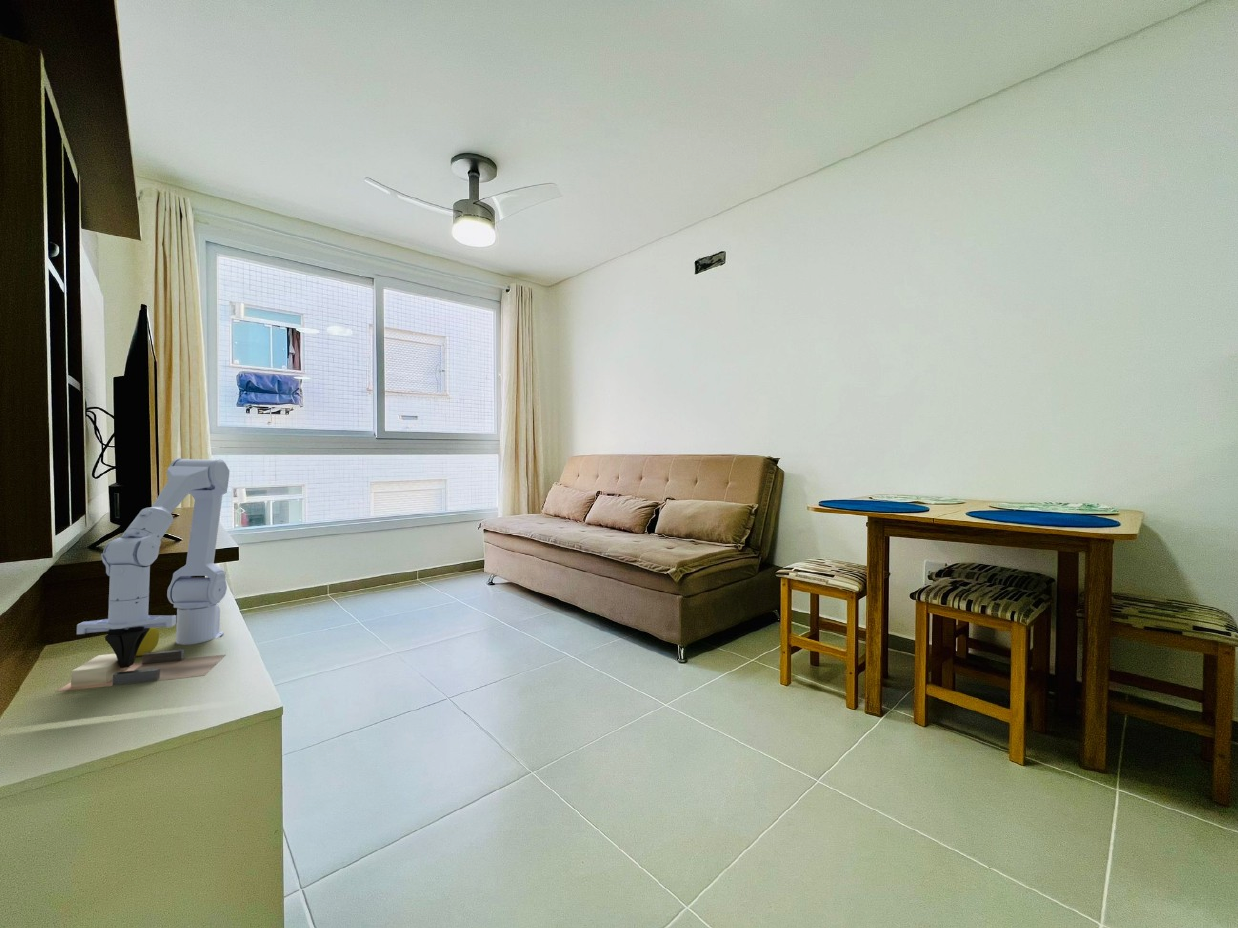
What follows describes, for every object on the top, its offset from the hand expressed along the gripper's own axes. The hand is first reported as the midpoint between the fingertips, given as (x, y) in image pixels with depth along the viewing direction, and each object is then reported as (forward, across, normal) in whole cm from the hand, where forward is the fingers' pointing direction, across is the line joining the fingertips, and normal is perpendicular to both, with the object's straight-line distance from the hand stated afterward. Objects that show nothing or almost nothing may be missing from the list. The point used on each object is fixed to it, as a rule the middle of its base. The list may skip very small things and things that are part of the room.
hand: (126, 665), depth 99 cm
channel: (+2, +4, 0) cm, 4 cm away
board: (+2, +4, 0) cm, 4 cm away
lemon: (+2, -2, +12) cm, 13 cm away
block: (+2, -4, 0) cm, 4 cm away
